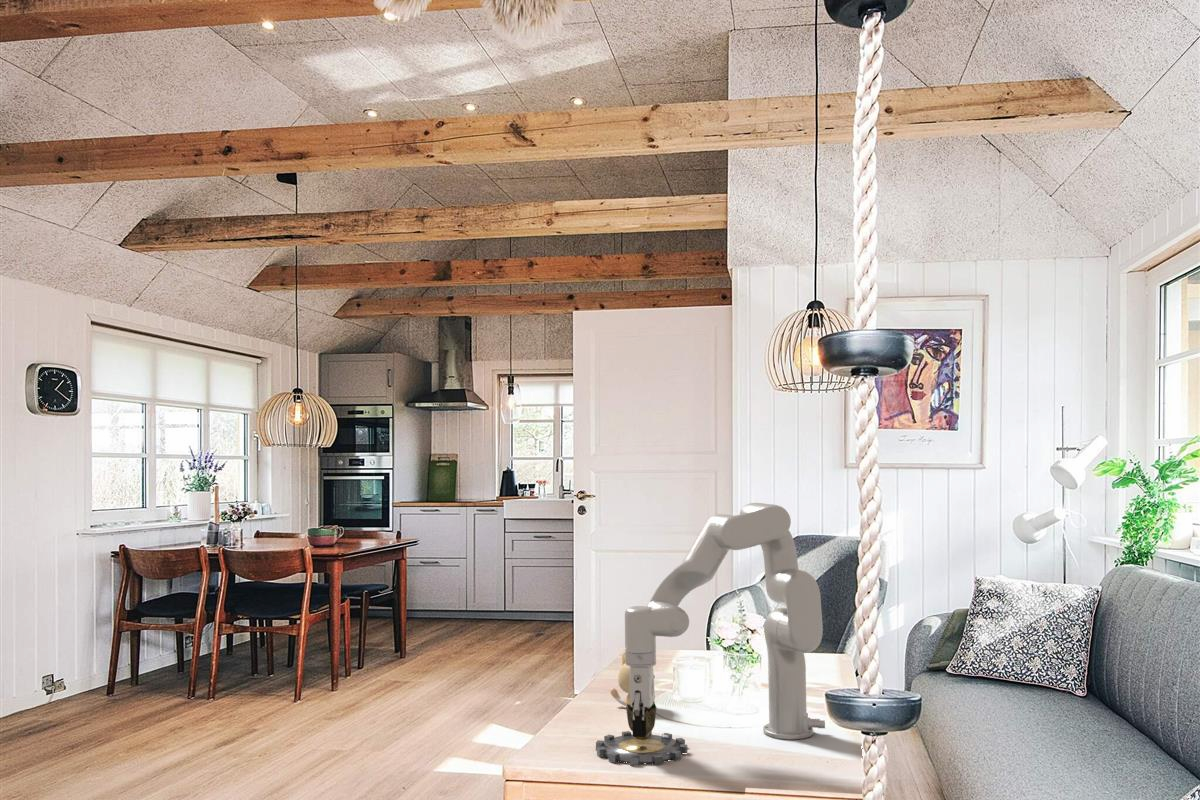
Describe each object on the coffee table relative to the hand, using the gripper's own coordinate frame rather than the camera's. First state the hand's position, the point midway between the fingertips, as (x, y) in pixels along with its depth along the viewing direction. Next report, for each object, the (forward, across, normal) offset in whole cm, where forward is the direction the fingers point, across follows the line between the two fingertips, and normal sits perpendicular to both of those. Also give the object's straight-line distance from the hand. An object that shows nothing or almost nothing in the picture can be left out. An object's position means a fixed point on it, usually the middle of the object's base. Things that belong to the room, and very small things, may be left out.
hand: (641, 731), depth 238 cm
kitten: (+5, +39, +7) cm, 40 cm away
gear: (+5, 0, 0) cm, 5 cm away
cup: (+2, 0, 0) cm, 2 cm away
